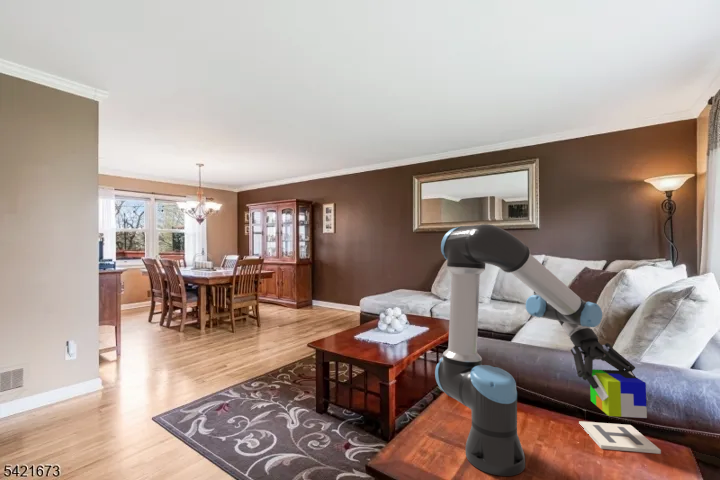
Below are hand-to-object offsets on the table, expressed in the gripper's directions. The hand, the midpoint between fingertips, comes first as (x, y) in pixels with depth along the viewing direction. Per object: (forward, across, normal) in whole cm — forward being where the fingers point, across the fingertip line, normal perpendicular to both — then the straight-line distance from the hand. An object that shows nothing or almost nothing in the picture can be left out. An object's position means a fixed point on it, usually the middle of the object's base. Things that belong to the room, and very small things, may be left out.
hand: (624, 396), depth 102 cm
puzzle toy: (+2, 0, -5) cm, 5 cm away
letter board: (+8, +1, -11) cm, 13 cm away
